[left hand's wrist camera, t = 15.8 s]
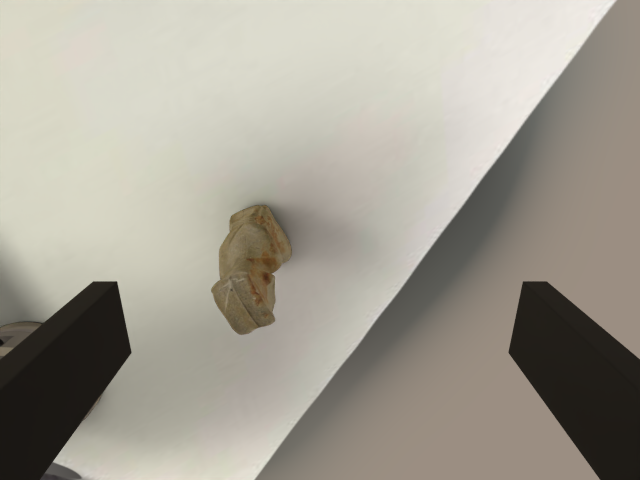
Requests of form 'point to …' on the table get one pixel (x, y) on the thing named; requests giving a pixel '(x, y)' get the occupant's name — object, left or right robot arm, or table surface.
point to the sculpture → (250, 269)
